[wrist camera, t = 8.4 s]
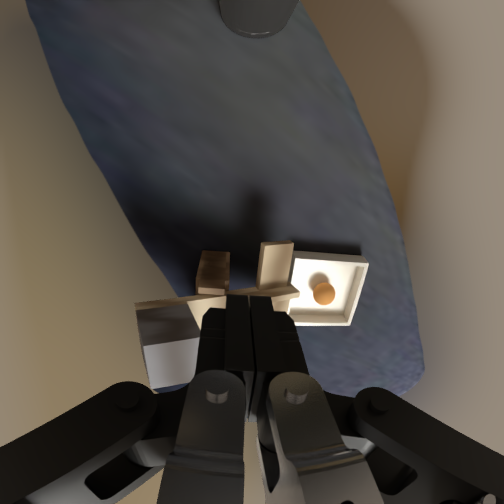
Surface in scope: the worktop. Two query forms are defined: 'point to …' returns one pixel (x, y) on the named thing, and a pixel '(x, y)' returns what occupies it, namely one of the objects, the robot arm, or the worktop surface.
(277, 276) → the lever
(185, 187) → the worktop surface
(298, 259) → the dish
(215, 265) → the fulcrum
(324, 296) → the ball
